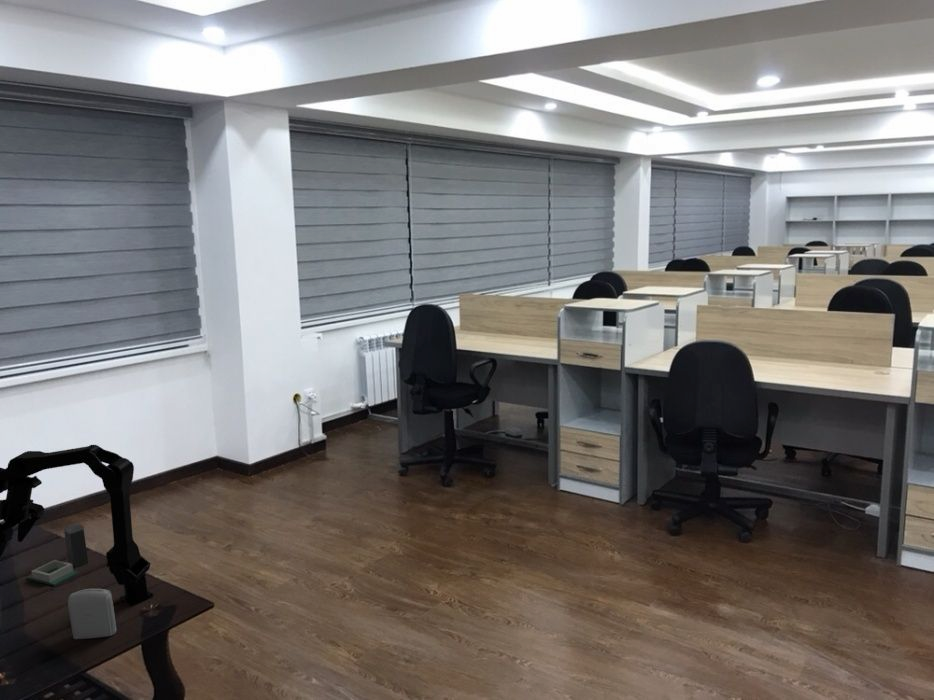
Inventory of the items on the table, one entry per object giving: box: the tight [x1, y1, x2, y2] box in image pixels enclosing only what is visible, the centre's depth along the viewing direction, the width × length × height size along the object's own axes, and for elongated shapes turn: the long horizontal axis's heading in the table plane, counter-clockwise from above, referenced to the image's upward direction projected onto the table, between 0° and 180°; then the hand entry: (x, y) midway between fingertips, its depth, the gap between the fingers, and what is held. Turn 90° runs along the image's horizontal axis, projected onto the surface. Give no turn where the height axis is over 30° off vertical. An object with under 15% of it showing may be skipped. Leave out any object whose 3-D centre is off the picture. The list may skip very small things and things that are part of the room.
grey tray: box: [26, 559, 80, 587], centre depth 219 cm, size 12×8×3 cm, turn 66°
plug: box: [63, 522, 89, 569], centre depth 226 cm, size 4×4×12 cm
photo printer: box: [67, 588, 117, 640], centre depth 187 cm, size 10×4×12 cm, turn 96°
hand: (9, 548), depth 204 cm, fingers open, 9 cm apart
